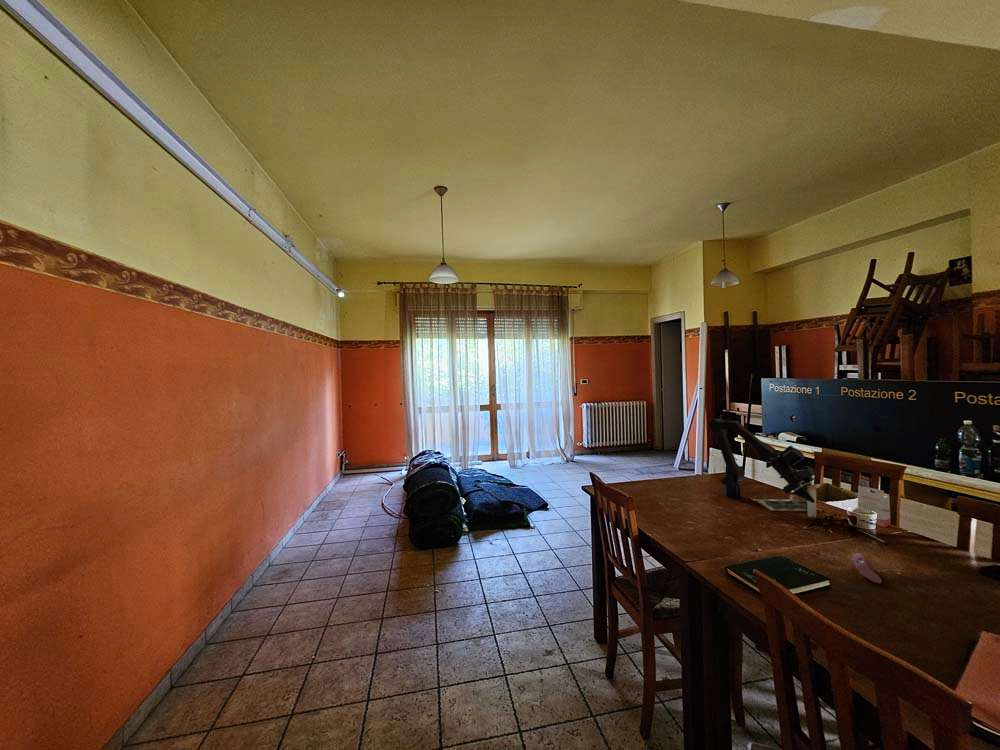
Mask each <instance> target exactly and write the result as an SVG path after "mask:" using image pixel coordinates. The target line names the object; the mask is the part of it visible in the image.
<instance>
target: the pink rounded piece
mask: <svg viewBox="0 0 1000 750" xmlns="http://www.w3.org/2000/svg"><path fill="white" fill-rule="evenodd" d="M851 555H852V557H851V561H852V562H853V563H854V565H855V567H856V569H857V570H858V572H859V574H860V575H861V576H863V577H864V578H866V579H868V580H870V581H871V582H873V583H876V584H882V581H883V580H882V578H881V577H880V576H879V575H878V574H877V573H876V571H877V570H878V567H877V566H876V565H875V564H874V562H872V561H870V560H869V559H868V558H866V557H865V556H864V554H862V553H861V552H860V553H858V552H856V553H852V554H851Z"/></svg>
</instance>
